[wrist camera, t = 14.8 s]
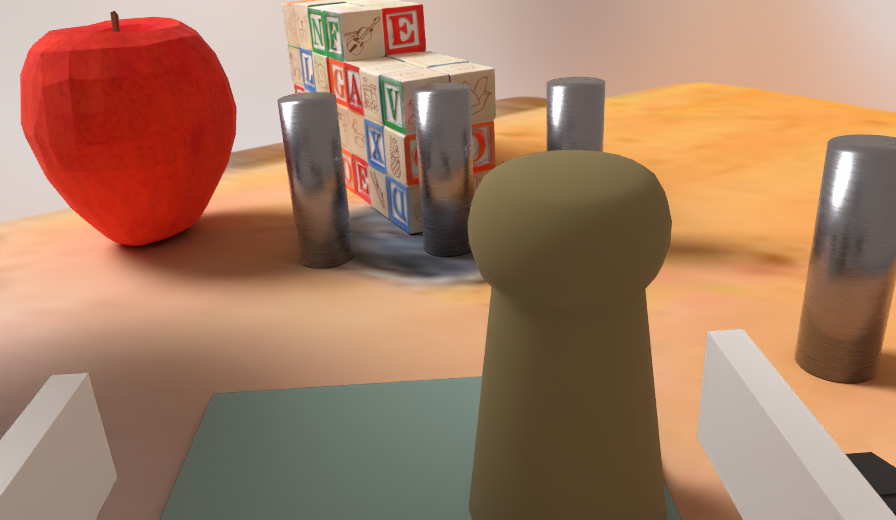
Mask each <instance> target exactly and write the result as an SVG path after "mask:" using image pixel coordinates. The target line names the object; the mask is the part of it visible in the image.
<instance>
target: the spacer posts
mask: <svg viewBox="0 0 896 520" xmlns="http://www.w3.org/2000/svg"><path fill="white" fill-rule="evenodd" d="M413 98H414V112H415V127H416V142H417V157H418V171H419V186H420V201H421V216H422V230H423V245H424V250H425V251H426V252H427V253H429V254H432V255H436V256H458V255H463V254H466V253H468V252H471V251H472V250H471V247H470V244H469V235H468V218H469V213H470V208H471V203H472V200H473V197H474V181H473V154H472V128H471V101H470V86H469V85H466V84H462V83H433V84H426V85H422V86H418V87H416V88H414V89H413ZM604 103H605V81H604V80H602V79H597V78H590V77H567V78H559V79H554V80H550V81H548V82H547V151H556V150H586V151H599V152H603V133H604ZM278 107H279V114H280V120H281V128H282V135H283V143H284V150H285V157H286V164H287V171H288V178H289V185H290V193H291V200H292V207H293V214H294V221H295V228H296V236H297V243H298V250H299V257H300V262H301V263H302V264H303V265H305V266H308V267H313V268H328V267H334V266H338V265H341V264H344V263H346V262H348V261H349V260H350V259H351V258H352V257H353V247H352V238H351V229H350V220H349V210H348V201H347V192H346V183H345V174H344V164H343V155H342V146H341V137H340V127H339V118H338V109H337V100H336V95H335V94H333V93H328V92H306V93H298V94H292V95H288V96H284V97H282V98H280V99H278ZM895 282H896V138H895V137H889V136H880V135H845V136H839V137H835V138H832V139H830V140H829V141H828V145H827V151H826V158H825V164H824V171H823V177H822V184H821V190H820V197H819V203H818V210H817V216H816V222H815V229H814V235H813V242H812V248H811V255H810V261H809V268H808V274H807V281H806V287H805V293H804V300H803V306H802V313H801V319H800V326H799V332H798V339H797V345H796V352H795V360H796V362H797V363H798V365H799V366H800V367H801V368H803V369H804V370H805V371H807V372H809V373H811V374H812V375H815V376H817V377H820V378H823V379H826V380H830V381H835V382H843V383H857V382H863V381H867V380H869V379H871V378H873V377H874V376H875V375H876V373H877V369H878V364H879V359H880V355H881V350H882V345H883V340H884V335H885V330H886V326H887V321H888V316H889V311H890V306H891V301H892V297H893V292H894V287H895Z"/></svg>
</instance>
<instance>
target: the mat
mask: <svg viewBox="0 0 896 520" xmlns="http://www.w3.org/2000/svg"><path fill="white" fill-rule="evenodd" d="M481 384H482V376H481V377H466V378H450V379H434V380H419V381H403V382H388V383H372V384H356V385H341V386H325V387H309V388H294V389H278V390H263V391H247V392H231V393H216V394H213V395H212V397H211V400H210V402H209V404H208V407H207V409H206V412H205V414H204V416H203V419H202V421H201V423H200V426H199V428H198V430H197V433H196V435H195V437H194V440H193V442H192V444H191V447H190V449H189V452H188V454H187V456H186V459H185V461H184V463H183V466H182V468H181V470H180V473H179V475H178V477H177V480H176V482H175V484H174V487H173V489H172V492H171V494H170V496H169V499H168V501H167V503H166V506H165V508H164V510H163V513H162V515H161V517H160V520H472V518H471V515H470V511H469V499H470V490H471V480H472V470H473V461H474V451H475V442H476V432H477V423H478V413H479V403H480V394H481ZM663 483H664V494H665V504H666V515H667V520H682V519H681V517H680V515H679V513H678V510H677V508H676V506H675V504H674V501H673V499H672V497H671V495H670V492H669V490H668V488H667V486H666V483H665V481H664V479H663Z"/></svg>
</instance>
